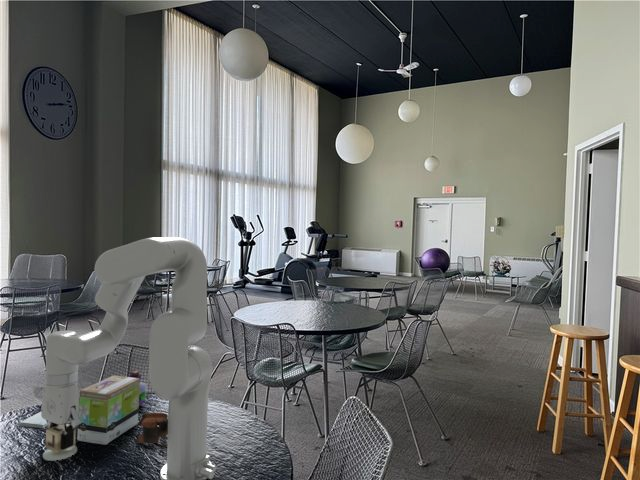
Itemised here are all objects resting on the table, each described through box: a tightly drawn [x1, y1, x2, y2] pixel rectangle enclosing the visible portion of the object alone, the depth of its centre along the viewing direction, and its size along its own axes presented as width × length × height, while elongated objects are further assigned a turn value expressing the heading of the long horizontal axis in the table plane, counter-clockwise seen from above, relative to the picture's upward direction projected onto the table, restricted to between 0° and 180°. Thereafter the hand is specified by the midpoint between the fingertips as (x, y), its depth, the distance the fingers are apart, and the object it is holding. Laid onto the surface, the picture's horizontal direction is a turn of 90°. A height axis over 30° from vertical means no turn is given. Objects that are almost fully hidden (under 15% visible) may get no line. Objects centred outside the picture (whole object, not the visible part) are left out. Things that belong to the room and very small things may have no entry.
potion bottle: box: [127, 370, 148, 407], centre depth 153 cm, size 9×9×12 cm
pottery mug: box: [137, 412, 168, 444], centre depth 131 cm, size 12×10×8 cm
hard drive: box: [18, 411, 47, 429], centre depth 141 cm, size 2×8×12 cm
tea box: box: [76, 375, 141, 446], centre depth 133 cm, size 15×10×15 cm, turn 168°
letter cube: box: [45, 423, 77, 453], centre depth 120 cm, size 5×5×5 cm
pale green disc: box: [42, 444, 78, 462], centre depth 120 cm, size 8×8×1 cm
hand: (60, 443), depth 120 cm, fingers closed on letter cube, 4 cm apart
